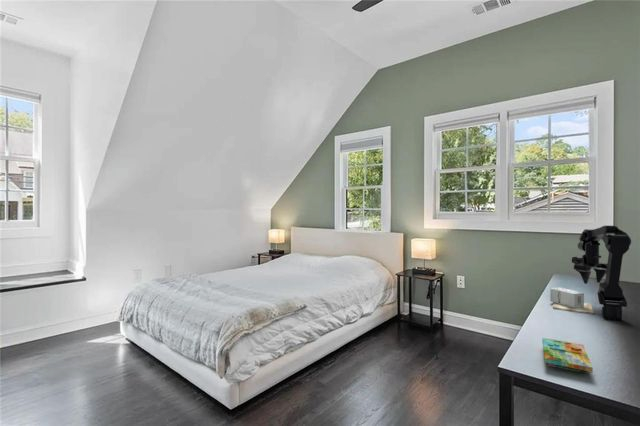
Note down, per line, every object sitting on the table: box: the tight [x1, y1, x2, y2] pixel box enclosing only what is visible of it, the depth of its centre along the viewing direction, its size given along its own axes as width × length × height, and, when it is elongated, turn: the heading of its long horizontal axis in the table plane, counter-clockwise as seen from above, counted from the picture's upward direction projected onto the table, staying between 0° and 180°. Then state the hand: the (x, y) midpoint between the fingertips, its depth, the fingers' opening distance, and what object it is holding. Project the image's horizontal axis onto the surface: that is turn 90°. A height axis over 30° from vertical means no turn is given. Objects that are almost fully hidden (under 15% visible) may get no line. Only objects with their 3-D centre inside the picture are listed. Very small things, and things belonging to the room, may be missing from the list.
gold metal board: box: [552, 302, 595, 315], centre depth 170 cm, size 16×18×1 cm
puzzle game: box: [542, 337, 593, 374], centre depth 109 cm, size 12×5×20 cm
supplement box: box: [549, 286, 585, 308], centre depth 172 cm, size 7×7×13 cm
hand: (592, 283), depth 172 cm, fingers open, 9 cm apart
